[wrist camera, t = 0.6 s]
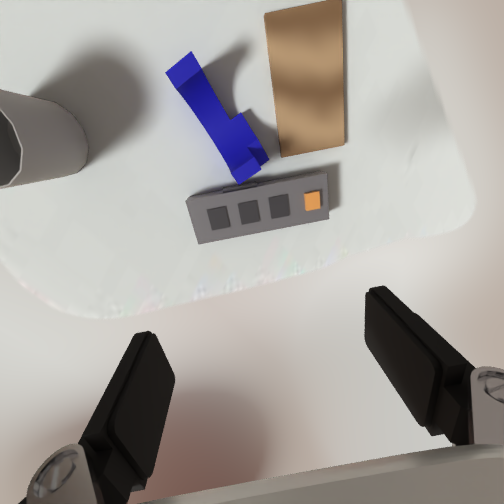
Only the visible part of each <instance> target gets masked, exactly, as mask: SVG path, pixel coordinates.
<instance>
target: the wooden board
mask: <svg viewBox="0 0 504 504" xmlns="http://www.w3.org/2000/svg"><path fill="white" fill-rule="evenodd" d="M264 22H265V30H266V38H267V46H268V55H269V63H270V71H271V79H272V87H273V95H274V103H275V112H276V120H277V128H278V136H279V144H280V152H281V157H282V158H283V157H288V156H293V155H298V154H303V153H308V152H313V151H318V150H323V149H328V148H333V147H338V146H343V145H344V93H343V37H342V0H326V1H322V2H317V3H312V4H307V5H302V6H298V7H293V8H288V9H283V10H279V11H274V12H269V13H265V15H264Z"/></svg>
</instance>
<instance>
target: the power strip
mask: <svg viewBox="0 0 504 504" xmlns="http://www.w3.org/2000/svg"><path fill="white" fill-rule="evenodd" d="M186 204H187V208H188V211H189V214H190V218H191V221H192V224H193V228H194V231H195V235H196V238H197V241H198V244H203V243H208V242H213V241H219V240H224V239H229V238H234V237H239V236H244V235H250V234H255V233H260V232H265V231H270V230H275V229H280V228H286V227H291V226H296V225H301V224H306V223H311V222H317V221H322V220H327V219H329V204H328V181H327V173H325V172H321V171H318V172H313V173H308V174H303V175H298V176H293V177H287V178H282V179H277V180H272V181H267V182H262V183H256V181H255V182H250V183H245V184H240V185H235V186H230V187H225V188H223V190H221V191H216V192H211V193H206V194H201V195H195V196H190V197H188V199H187V200H186Z"/></svg>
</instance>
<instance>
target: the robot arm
mask: <svg viewBox="0 0 504 504" xmlns="http://www.w3.org/2000/svg"><path fill="white" fill-rule="evenodd" d="M365 342H366V345H367V347H368V348H369V350H370V351H371V353H372V354H373V356H374V357H375V359H376V360H377V362H378V363H379V365H380V366H381V368H382V370H383V371H384V373H385V374H386V376H387V377H388V379H389V380H390V382H391V383H392V385H393V386H394V388H395V389H396V391H397V392H398V394H399V395H400V397H401V398H402V400H403V401H404V403H405V404H406V406H407V407H408V409H409V410H410V412H411V414H412V415H413V416H414V418H415V420H416V421H417V422H418V424H419V425H420V426H422V427H424V426H425V427H426V429H427V430H428V432H429V433H430V435H431V436H436V435H441V434H445V436H446V437H447V438H448V440H449V441H450V442H451V443H452V447H445V448H439V449H432V450H426V451H419V452H413V453H407V454H401V455H395V456H389V457H384V458H379V459H373V460H367V461H362V462H356V463H350V464H345V465H339V466H334V467H328V468H322V469H317V470H311V471H306V472H301V473H296V474H290V475H284V476H279V477H273V478H268V479H263V480H258V481H252V482H247V483H241V484H236V485H231V486H226V487H220V488H215V489H210V490H204V491H199V492H194V493H189V494H184V495H178V496H173V497H168V498H163V499H158V500H153V501H149V502H144V503H140V504H504V370H503V369H500V368H495V367H479V368H475V367H474V366H473V365H472V364H470V363H469V361H467V360H466V359H465V358H464V357H463V356H462V355H461V354H460V353H459V352H458V351H456V349H454V348H453V347H452V346H451V345H450V344H449V343H448V342H447V341H446V340H445V339H444V338H443V337H441V335H439V334H438V333H437V332H436V331H435V330H434V329H433V328H432V327H431V326H430V325H429V324H428V323H426V322H425V321H424V320H423V319H422V318H421V317H420V316H419V315H417V314H416V313H414V312H412V311H411V310H410V309H409V308H408V307H407V306H406V305H405V304H404V303H403V302H402V301H401V300H400V299H399V298H398V297H396V296H395V295H394V294H393V293H392V292H391V291H390V290H389V289H388V288H387V287H385V286H378V287H373V288H370V289H369V292H366V295H365ZM174 384H175V375H174V373H173V371H172V368H171V366H170V364H169V362H168V360H167V358H166V356H165V353H164V351H163V349H162V347H161V345H160V343H159V341H158V338H157V336H156V335H155V334H154V333H153V334H152V333H151V332H150V331H146V332H141V333H136V334H135V335H134V336H133V338H132V340H131V342H130V344H129V346H128V348H127V350H126V352H125V354H124V355H123V357H122V359H121V361H120V363H119V365H118V367H117V369H116V371H115V373H114V375H113V377H112V379H111V380H110V382H109V384H108V386H107V388H106V390H105V392H104V394H103V396H102V398H101V400H100V402H99V404H98V405H97V407H96V409H95V411H94V413H93V415H92V417H91V419H90V421H89V423H88V425H87V427H86V429H85V431H84V432H83V434H82V437H81V439H80V440H79V442H78V444H69V445H67V446H64V447H62V448H61V449H59V450H57V451H56V452H54V453H53V454H52V455H51V456H50V457H49V458H48V459H46V460H45V461H44V463H43V464H42V465H41V466H40V467H39V468H38V470H37V471H36V473H35V474H34V476H33V477H32V479H31V481H30V484H29V486H28V490H27V495H26V497H25V498H24V499H23V500H22V501H21V502H20V503H19V504H128V503H127V502H128V500H129V496H130V492H134V491H139V490H144V489H145V486H146V483H147V479H148V478H149V477H150V476H151V475H152V473H153V470H154V466H155V462H156V458H157V453H158V449H159V445H160V441H161V437H162V433H163V428H164V425H165V421H166V417H167V412H168V409H169V405H170V400H171V396H172V392H173V388H174Z"/></svg>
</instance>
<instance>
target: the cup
mask: <svg viewBox="0 0 504 504" xmlns="http://www.w3.org/2000/svg"><path fill="white" fill-rule="evenodd" d="M88 150H89V146H88V142H87V139H86V135H85V132H84V130H83V128H82V127H81V125H80V124H79V123H78V121H77V120H76V119H75V117H74V116H73V115H72V114H71V113H70V112H68V111H67V110H66V109H64V108H63V107H61V106H60V105H58V104H57V103H55V102H51V101H47V100H43V99H38V98H34V97H30V96H26V95H21V94H17V93H13V92H9V91H4V90H0V189H2V188H8V187H13V186H18V185H23V184H29V183H34V182H39V181H44V180H50V179H55V178H60V177H65V176H68V175H72V174H75V173H78V171H79V170H80V169H81V168H82V167H83V166H84V165H85V164H86V162H87V156H88Z"/></svg>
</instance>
